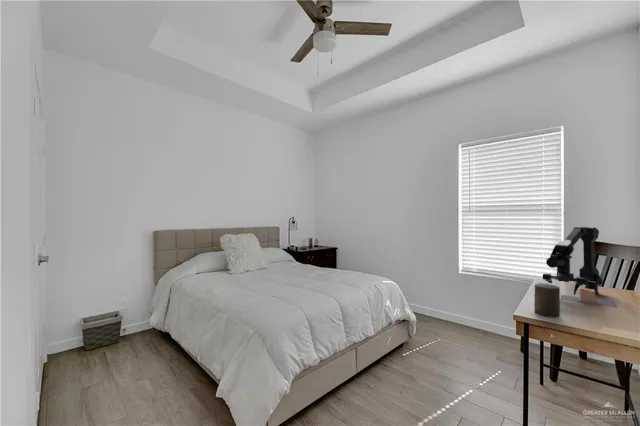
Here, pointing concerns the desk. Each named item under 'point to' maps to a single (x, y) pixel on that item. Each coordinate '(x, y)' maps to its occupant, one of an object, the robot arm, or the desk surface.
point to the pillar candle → (547, 300)
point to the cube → (587, 295)
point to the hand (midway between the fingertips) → (563, 293)
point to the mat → (597, 302)
